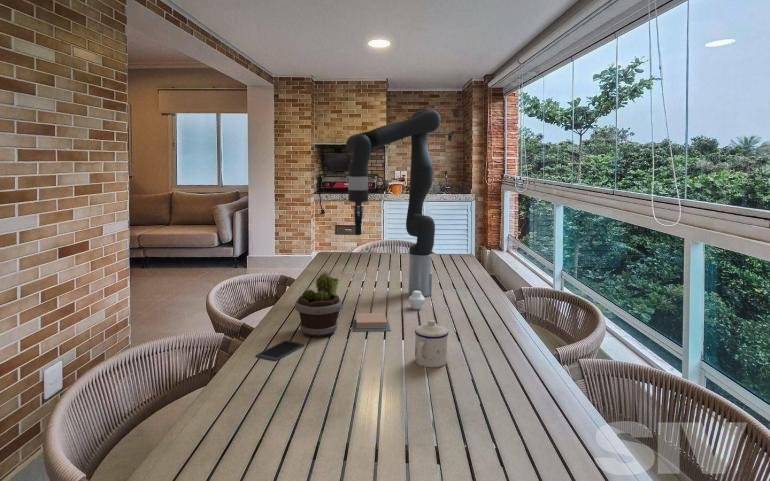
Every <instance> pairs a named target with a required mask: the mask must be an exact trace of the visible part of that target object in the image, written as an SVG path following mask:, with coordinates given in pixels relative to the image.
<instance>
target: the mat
mask: <svg viewBox="0 0 770 481" xmlns="http://www.w3.org/2000/svg"><path fill="white" fill-rule="evenodd" d="M386 320H387V328H357V327H356V318H355V319H353V320H352V324H353V332H357V333H358V332H391V331H392V330H391V326H390V323H389V319H388V318H386Z"/></svg>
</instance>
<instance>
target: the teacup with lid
mask: <svg viewBox="0 0 770 481" xmlns="http://www.w3.org/2000/svg"><path fill="white" fill-rule="evenodd" d="M427 321H428V322H426V323H425V324H421V325H418V326H417V327H416V328H415V330H414V333H415V339H414V340H415V343H414V344H415V346H414V347H415V348H414V349H415V350H414V353H415V354H414V361H415V363H416V364H417V365H419V366H421V367H425V368H440V367H443V366H444V365H446V364H447V359H448V358H447V357H448V336H449V330H448V328H446V327H445V326H442V325H440V324H438V323H436V322H437V321H436V320H434V319H429V320H427Z"/></svg>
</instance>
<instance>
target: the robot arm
mask: <svg viewBox="0 0 770 481" xmlns="http://www.w3.org/2000/svg"><path fill="white" fill-rule="evenodd" d="M440 125H441V116H440V113H438V111H436V110H435V109H432V108H424V109H420V110H417V111H414V113H413V114H412V115H411V118H409V119H405V120H402V121H397V122H393V123H390V124H386V125H382V126H379V127H376V128H374V129H371V130H369V131H363V132H361V133H357V134H353V135H351V136H350V137H348V138H347V139H346V144H345V147H346V149H347V151H348V152H349V153H351V154H353V155H352V160H351V161H350V162H349V164H348V184H347V185H348V190H347V194H348V195H347V196H348V197H347V199H348V202H352V203H354V205H353V206H352V211H353V219H354V227H355V228H354V230H355V231H354V234H355V235H359V236H360V235H362V224H363V222H362V221H363V220H362V219H363V218H364V216H363V215H364V206H363V205H362V203H366V202H368V201H369V176H368V175H369V174H368V173H369V172H368V171H369V170H368V169H369V166H368V164H369V161H370V157H371V152H372V149H375V148H381V147H384V146H387V145H389V144H393V143H395V142H397V141H400V140H403V139H405V138H408V137H410V139H411V142H410V143H411V146H410V147H411V152H410V155H411V156H410V174H409V175H410V176H409V196H408V197H409V198H408V206H407V214H406V220H405V228H406V229H405V230H406V231H407V234H408V235H409V236H411V237H414V238H415V237H416V242H415V244H413V245H411V246H409V250H408V251H409V254H408V255H409V256H408V258H409V259H408V295H410V296H411V295H412V292H413V291H420V292H421V293H422V295H423V297H424V298H425V297H432V295H433V294H432V292H433V291H432V290H433V289H432V287H433V273H432V254H433V248H434V247H435V246H434V245H435V244H434V243H435V232H436V224H435V221H434V219H433V218H432V217H431V216H429V215H423V207H424V206H423V205H424V202H425V199H426V197H427V195H428V194H429V191H430V190H431V188H432V185H433V183H434V182H433V179H434V164H433V161H432V158H431V155H430V152H429V148H428V136H429V135H428V134H430V133H433V132H435V131H437V129H439V126H440Z"/></svg>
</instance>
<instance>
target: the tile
mask: <svg viewBox="0 0 770 481" xmlns="http://www.w3.org/2000/svg"><path fill="white" fill-rule="evenodd" d="M355 319H356V327H357V328H387V320H386V319H387V316H386V313H385V312H377V313H376V312H371V313H370V312H369V313H368V312H367V313H366V312H364V313H363V312H362V313H359V312H358V313H355Z"/></svg>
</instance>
